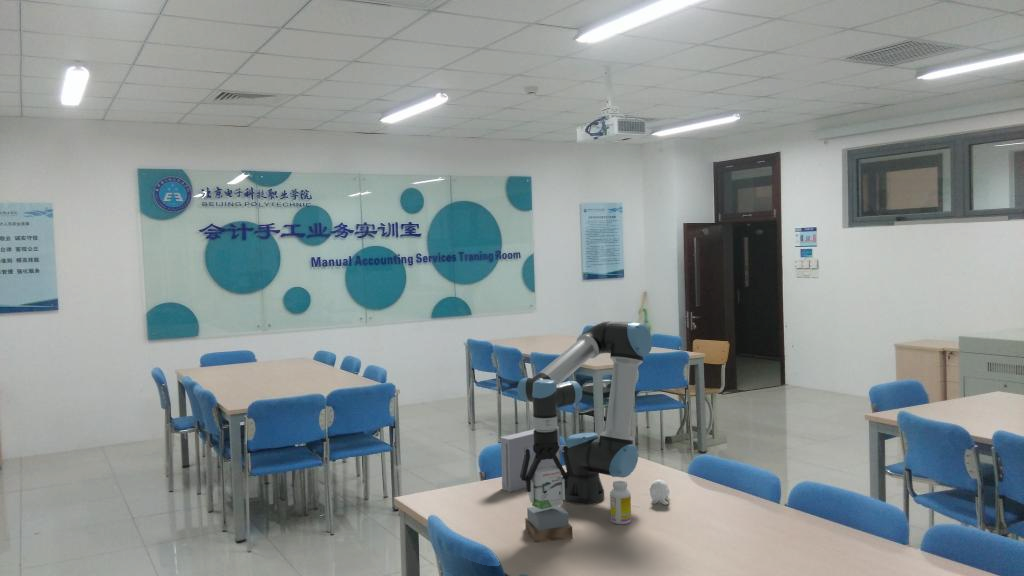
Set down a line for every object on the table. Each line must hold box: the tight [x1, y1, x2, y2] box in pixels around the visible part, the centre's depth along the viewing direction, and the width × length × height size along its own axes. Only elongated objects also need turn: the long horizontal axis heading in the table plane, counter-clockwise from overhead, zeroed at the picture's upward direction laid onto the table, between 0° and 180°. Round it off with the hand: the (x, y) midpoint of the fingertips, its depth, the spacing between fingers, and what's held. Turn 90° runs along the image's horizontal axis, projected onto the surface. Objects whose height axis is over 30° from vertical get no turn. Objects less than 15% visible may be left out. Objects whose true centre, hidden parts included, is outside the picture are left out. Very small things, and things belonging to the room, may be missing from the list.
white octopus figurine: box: [649, 479, 671, 506], centre depth 269 cm, size 6×8×12 cm
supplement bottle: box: [609, 480, 632, 525], centre depth 249 cm, size 7×7×13 cm
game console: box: [500, 426, 561, 493], centre depth 294 cm, size 6×27×20 cm, turn 133°
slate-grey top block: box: [526, 505, 570, 530], centre depth 240 cm, size 10×10×4 cm
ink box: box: [531, 465, 563, 509], centre depth 239 cm, size 9×5×12 cm, turn 123°
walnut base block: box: [524, 517, 574, 543], centre depth 240 cm, size 12×12×4 cm
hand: (547, 499), depth 239 cm, fingers closed on ink box, 9 cm apart
